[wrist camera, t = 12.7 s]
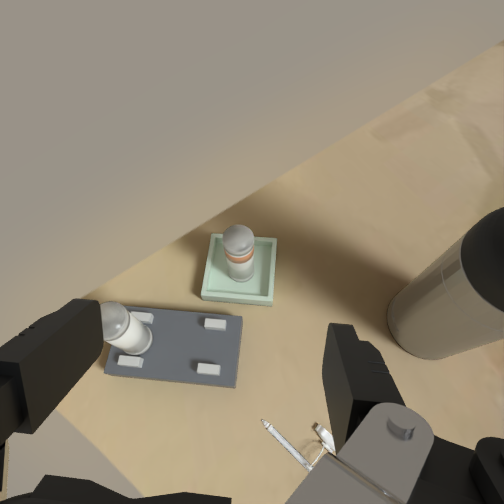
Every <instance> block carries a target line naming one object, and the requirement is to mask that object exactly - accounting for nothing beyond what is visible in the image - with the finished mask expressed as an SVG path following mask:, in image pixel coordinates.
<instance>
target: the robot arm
mask: <svg viewBox="0 0 504 504" xmlns="http://www.w3.org/2000/svg"><path fill="white" fill-rule="evenodd" d="M387 321H388V326H389V329H390V331H391V334H392V335H393V337H394V339H395V340H396V341H397V343H398V344H399V345H400V346H401V347H402V348H403V349H405V350H406V351H407V352H409V353H410V354H412V355H414V356H416V357H419V358H423V359H428V360H437V359H443V358H446V357H449V356H452V355H455V354H458V353H461V352H464V351H467V350H470V349H473V348H476V347H480V346H483V345H486V344H489V343H492V342H495V341H498V340H501V339H504V207H503V208H500V209H498V210H495V211H493V212H491V213H489V214H488V215H486V216H485V217H484V218H482V219H481V220H480V221H479V222H478V223H477V224H475V225H474V226H473V227H472V228H471V229H470V230H469V231H468V232H467V233H466V234H464V235H463V236H462V237H461V238H460V239H459V240H458V241H457V242H455V243H454V244H453V245H452V246H451V247H450V248H449V249H448V250H447V251H446V252H444V253H443V254H442V255H441V256H440V257H439V258H438V259H436V260H435V261H434V262H433V263H432V264H431V265H430V266H429V267H427V268H426V269H425V270H424V271H423V272H422V273H421V274H420V275H418V276H417V277H416V278H415V279H414V280H413V281H412V282H411V283H409V284H408V285H407V286H406V287H405V288H404V289H403V290H402V291H400V292H399V293H398V294H397V295H396V296H395V297H394V298H393V299H392V301H391V303H390V304H389V307H388V311H387ZM103 343H104V337H103V327H102V316H101V307H100V304H99V302H98V301H96V300H86V299H73V300H71V301H70V302H69V303H67V304H66V305H65V306H63V307H62V308H61V309H59V310H58V311H56V312H53V313H51V314H49V315H46V316H44V317H42V318H40V319H39V320H37V321H36V322H34V323H33V324H32V325H30V326H29V328H26V329H25V330H23V331H22V332H21V333H19V335H18V336H15V337H14V338H12V339H11V340H10V341H8V342H7V343H5V344H4V345H3V346H1V347H0V504H231V499H232V498H228V497H220V496H212V495H204V494H196V493H188V492H181V493H174V494H167V495H159V496H152V497H145V498H137V499H132V498H128V497H125V496H123V495H121V494H119V493H117V492H114V491H112V490H110V489H108V488H106V487H104V486H101V485H99V484H97V483H95V482H93V481H90V480H85V479H77V478H69V477H61V476H52V475H45V476H44V477H43V479H42V480H41V481H40V483H39V484H38V486H37V487H36V488H35V490H34V491H33V492H31V493H27V494H22V495H18V496H14V497H11V498H8V499H6V497H7V479H8V461H9V443H8V438H9V437H10V435H11V434H12V433H13V432H17V433H26V434H33V433H34V432H35V431H36V430H37V428H39V426H40V425H41V424H42V423H43V421H44V420H45V419H46V418H47V417H48V416H49V414H50V413H51V412H52V411H53V410H54V409H55V408H56V406H57V405H58V404H59V403H60V402H61V401H62V399H63V398H64V397H65V396H66V395H67V394H68V392H69V391H70V390H71V389H72V388H73V387H74V385H75V384H76V383H77V382H78V381H79V379H80V378H81V377H82V376H83V375H84V374H85V372H86V371H87V370H88V369H89V368H90V367H91V365H92V364H93V363H94V362H95V361H96V360H97V358H98V357H99V355H100V354H101V351H102V348H103ZM322 379H323V385H324V391H325V396H326V402H327V407H328V413H329V419H330V424H331V430H332V435H333V441H334V446H335V452H336V456H335V455H333V454H332V453H330V452H328V453H326V454H325V455H324V456H323V457H322V458H321V459H320V460H319V461H318V463H317V464H316V465H315V466H314V468H313V469H312V470H311V471H310V473H309V474H308V475H307V476H306V478H305V479H304V480H303V481H302V483H301V484H300V485H299V486H298V488H297V489H296V490H295V491H294V493H293V494H292V495H291V496H290V498H289V499H288V500H287V501H286V503H285V504H504V439H501V438H496V437H486V438H482V439H481V440H479V441H478V443H477V445H476V448H475V451H474V450H471V449H469V448H466V447H463V446H460V445H457V444H454V443H452V442H449V441H446V440H444V439H441V438H439V437H437V436H435V435H434V434H433V431H432V429H431V427H430V425H429V424H428V423H427V422H426V420H425V419H424V418H423V417H421V416H420V415H419V414H418V413H416V412H415V411H413V410H411V409H409V408H407V407H406V405H405V403H404V401H403V399H402V397H401V395H400V393H399V391H398V389H397V387H396V385H395V383H394V380H393V378H392V376H391V374H389V370H388V368H387V366H386V365H385V362H384V360H383V358H382V356H381V353H380V351H379V350H377V349H376V348H375V347H374V346H373V345H372V344H371V343H370V342H369V341H360V340H359V339H358V336H357V334H356V331H355V329H354V327H353V325H349V324H338V323H329V326H328V331H327V338H326V344H325V351H324V357H323V365H322Z"/></svg>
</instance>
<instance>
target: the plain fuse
mask: <svg viewBox="0 0 504 504" xmlns="http://www.w3.org/2000/svg"><path fill="white" fill-rule="evenodd" d="M100 307H101V316H102V327H103V337H104V341H106V342H108V343H110V344H112V345H113V346H115V347H117V348H119V349H121V350H123V351H124V352H126V353H128V354H130V355H133V356H139V355H142V354H144V353H145V352H147V351H148V350H149V349H150V347H151V345H152V343H153V333H152V331H151V330H150V329H149V328H148V327H147V326H146V325H144V324H143V323H142V322H140V321H139V320H138V319H137V318H136V317H134V316H133V315H132V314H131V313H130V312H129V311H128V310H127V309H126V308H125V307H124V306H122V305H121V304H120V303H118V302H113V301H109V302H105V303H102V304H100Z"/></svg>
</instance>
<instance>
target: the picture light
mask: <svg viewBox="0 0 504 504" xmlns="http://www.w3.org/2000/svg"><path fill="white" fill-rule="evenodd" d="M262 422H263V425H264V426H265V428H267V430H268V431H269V432H270V433H271V434H272V435H273V436H274V437H275V438H276V439H277V440H278V441H279V442H280V443H281V444H282V445H283V446H284V447H285V448H286V449H287V450H288V451H289V452H290V453H291V454H292V455H293V456H294V457H295V458H296V459H297V460H298V461H299V462H300V463H301V464H302V465H303V466H304V467H305V468H306V469H307V470H308V471H309V472H310V471H311V470H312V469H313V468H314V467H313V466H312V465H313V464H314V463H315V461H316V460H317V459H318V457H319V456H320V454H321V453H322V451H323V449H324V447H325V448H326V449H327V450H328V451H329V452H330V453H332V452H333V451H335V446H334V441H333V436H332V435H331V434H330V433H329V432H328V431H327V430H326V429H325V428H323V427H322V426H321V425H320V424H318V426H317V427H316V428H315V430H316V431H317V432H318V434H319V436H320V437H321V439H322V440H323V441H324V442H325V443H326V444H325V443H324V442H322V443H321V444H322V445H323V448H322V450H321V452H320V454H319V455H318V457H317V458H316V459H315V461H314V462H313V463H312V464H310V463H309V462H308V461H307V460H306V459H305V458H304V457H303V456H302V455H301V454H300V453H299V452H298V451H297V450H296V449H295V448H294V447H293V446H292V445H291V444H290V443H289V442H288V441H287V440H286V439H285V438H284V437H283V436H282V435H281V434H280V433H279V432H278V431H277V430H276V429H275V428H274V427H273V426H272V425H269V422H267V421H264V420H263V419H262ZM330 448H331V449H332V450H333V451H332V450H331V449H330Z"/></svg>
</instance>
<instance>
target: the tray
mask: <svg viewBox="0 0 504 504" xmlns="http://www.w3.org/2000/svg"><path fill="white" fill-rule="evenodd" d="M222 236H223V234H215V233H212V234H211V240H210V245H209V251H208V257H207V263H206V268H205V274H204V280H203V285H202V291H201V297H202V299H203V300H205V301H216V302H228V303H239V304H250V305H261V306H272V303H273V289H274V275H275V261H276V247H277V238H266V237H254V275H253V277H252V278H251V279H250V280H249V281H247V282H243V283H239V282H235V281H234V280H232V279H231V278H230V276H229V273H228V266H227V261H226V255H225V252H224V247H223V242H222Z"/></svg>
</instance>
